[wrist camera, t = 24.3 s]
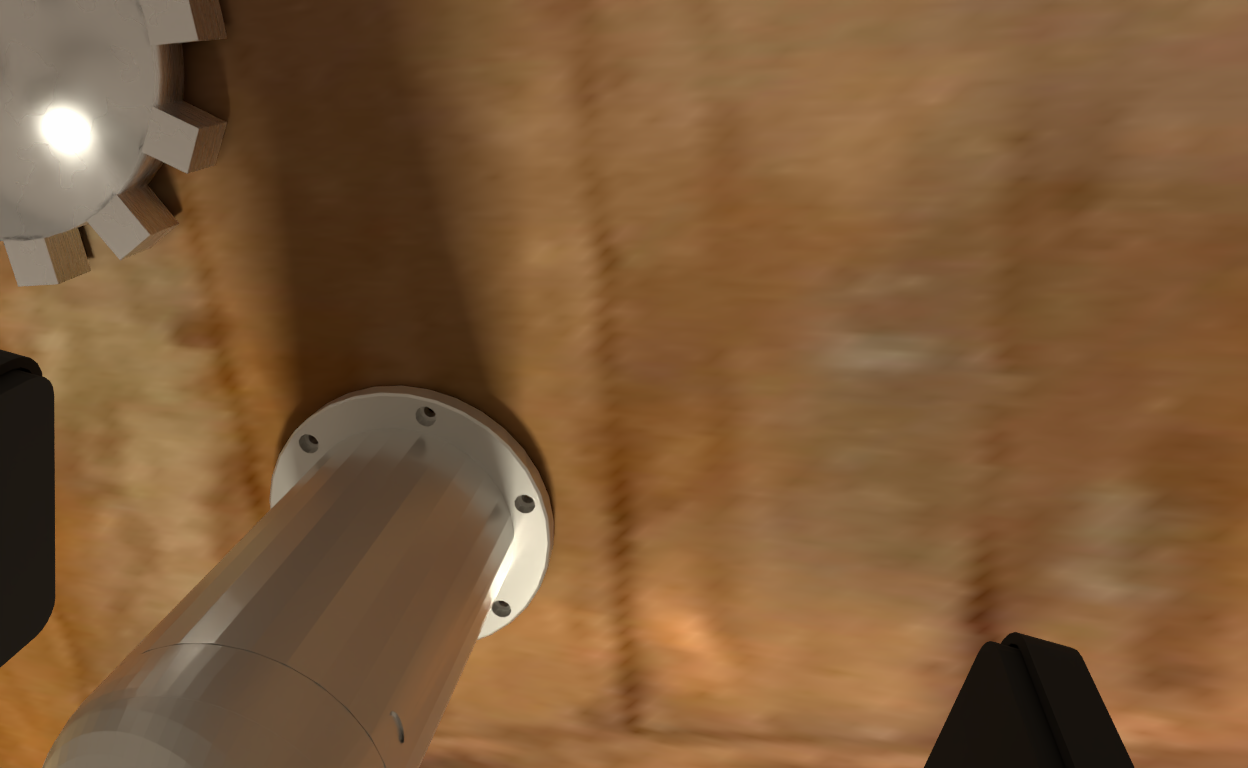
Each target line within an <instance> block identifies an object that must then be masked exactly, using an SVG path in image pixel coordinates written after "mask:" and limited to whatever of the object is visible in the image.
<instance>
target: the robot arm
mask: <svg viewBox="0 0 1248 768" xmlns="http://www.w3.org/2000/svg"><path fill="white" fill-rule="evenodd" d="M428 407H429V408H430V409H432V410H433V411H434V413H432V412H430V411H429V410H428ZM525 495H528V496H529V497H531V498H528V497H526V496H525ZM270 508H271V510H270V511H269V512H268V513H267V514H266V515H265V516H264V517H263V518H262V519H261V520H260V521H259V522H258V523H257V524H256V525H255V526H254V527H253V528H252V529H251V530H250V531H249V532H248V533H247V534H246V535H245V536H244V537H243V538H242V539H241V540H240V541H239V542H238V543H237V544H236V545H235V546H234V547H233V548H232V549H231V551H230V552H229V553H228V554H227V555H226V556H225V557H224V558H223V559H222V560H221V561H220V562H219V563H218V564H217V565H216V566H215V567H214V568H213V569H212V570H211V571H210V572H209V573H208V574H207V575H206V576H205V577H204V578H203V579H202V580H201V581H200V582H199V583H198V584H197V585H196V586H195V587H194V588H193V589H192V590H191V591H190V592H189V593H188V594H187V596H186V597H185V598H184V599H183V600H182V601H181V602H180V603H179V604H178V605H177V606H176V607H175V608H174V609H173V610H172V611H171V612H170V613H169V614H168V615H167V616H166V617H165V618H164V619H163V620H162V621H161V622H160V623H159V624H158V625H157V626H156V627H155V628H154V629H153V630H152V631H151V632H150V633H149V634H148V635H147V636H146V637H145V638H144V639H143V641H142V642H141V643H140V644H139V645H138V646H137V647H136V648H135V649H134V650H133V651H132V652H131V653H130V654H129V655H128V656H127V657H126V658H125V659H124V660H123V661H122V662H121V663H120V665H119V666H118V667H117V668H116V669H115V670H114V671H113V672H112V673H111V674H110V675H109V676H108V677H107V678H106V679H105V680H104V681H103V682H102V683H101V684H100V685H99V686H98V687H97V688H96V689H95V690H94V691H93V692H92V693H91V694H90V695H89V697H88V698H87V699H86V700H85V701H84V702H83V703H82V704H81V705H80V706H79V708H78V709H77V710H76V711H75V713H74V714H73V715H72V716H71V718H70V719H69V720H68V722H67V723H66V725H65V726H64V728H63V730H62V731H61V733H60V734H59V736H58V738H57V739H56V741H55V742H54V744H53V746H52V748H51V749H50V751H49V753H48V755H47V758H46V760H45V763H44V765H43V767H42V768H419V766H420V764H421V762H422V760H423V757H424V755H425V753H426V751H427V749H428V746H429V744H430V742H431V740H432V738H433V735H434V733H435V731H436V729H437V727H438V724H439V722H440V720H441V718H442V716H443V713H444V711H445V709H446V707H447V705H448V702H449V700H450V698H451V696H452V694H453V691H454V689H455V687H456V685H457V683H458V680H459V678H460V676H461V674H462V672H463V669H464V667H465V665H466V663H467V660H468V658H469V656H470V654H471V652H472V649H473V647H474V645H475V643H476V641H477V640H479V639H481V638H484V637H487V636H490V635H492V634H493V633H495V632H497V631H498V630H500V629H502V628H503V627H505V626H506V625H508V624H510V623H511V622H512V621H513V620H514V619H515V618H516V617H517V616H518V615H519V614H520V613H521V612H522V611H524V610H525V609H526V608H527V607H528V605H529V603H530V602H531V600H532V599H533V597H534V596H535V594H536V593H537V591H538V590H539V588H540V586H541V583H542V581H543V578H544V576H545V574H546V571H547V569H548V565H549V561H550V557H551V553H552V549H553V541H554V519H553V514H552V509H551V504H550V499H549V495H548V493H547V491H546V488H545V486H544V483H543V481H542V478H541V476H540V474H539V472H538V470H537V468H536V467H535V465H534V464H533V462H532V461H531V459H530V458H529V456H528V455H527V453H526V452H525V450H524V449H523V448H522V447H521V446H520V445H519V443H518V442H517V441H516V440H515V439H514V438H513V437H512V436H511V435H510V434H509V433H508V432H507V431H506V430H505V429H504V428H503V427H502V426H500V425H499V424H498V423H496V422H495V421H494V420H492V419H491V418H490V417H488V416H487V415H486V414H485V413H483V412H482V411H480V410H478V409H476V408H474V407H472V406H470V405H468V404H467V403H465V402H463V401H461V400H459V399H457V398H454V397H451V396H448V395H445V394H442V393H439V392H436V391H433V390H429V389H423V388H416V387H409V386H401V385H400V386H378V387H371V388H367V389H362V390H358V391H354V392H350V393H347V394H345V395H343V396H341V397H339V398H337V399H335V400H333V401H331V402H329V403H327V404H325V405H324V406H323V407H321V408H320V409H319V410H318V411H316V412H315V413H314V414H313V415H311V416H310V417H309V418H308V419H307V420H305V421H304V422H303V423H302V424H301V425H300V426H299V427H298V428H297V429H296V430H295V431H294V432H293V434H292V435H291V436H290V438H289V440H288V441H287V443H286V444H285V446H284V448H283V449H282V451H281V453H280V454H279V457H278V460H277V463H276V466H275V469H274V472H273V475H272V481H271V491H270ZM54 603H55V461H54V391H53V386H52V384H51V382H50V381H49V380H48V379H46V378H45V377H42V371H41V369H40V367H39V365H38V363H36V362H35V361H34V360H32V359H31V358H29V357H25V356H21V355H18V354H14V353H11V352H7V351H3V350H0V667H1V666H3V665H4V664H5V663H6V662H7V661H8V660H9V659H11V658H12V657H13V656H14V655H15V654H16V653H17V652H19V651H20V650H21V649H22V648H23V647H24V646H26V645H27V644H28V643H29V642H30V641H31V640H32V639H34V638H35V637H36V636H37V635H38V634H39V633H40V631H41V630H42V629H43V628H44V626H45V625H46V623H47V622H48V619H49V617H50V615H51V613H52V610H53V607H54ZM924 768H1134V766H1133V763H1132V761H1131V759H1130V757H1129V755H1128V753H1127V751H1126V749H1125V747H1124V744H1123V742H1122V740H1121V738H1120V736H1119V734H1118V732H1117V730H1116V728H1115V725H1114V723H1113V721H1112V719H1111V717H1110V715H1109V713H1108V711H1107V709H1106V706H1105V704H1104V702H1103V700H1102V698H1101V696H1100V694H1099V692H1098V690H1097V688H1096V685H1095V683H1094V681H1093V679H1092V677H1091V675H1090V673H1089V671H1088V669H1087V666H1086V664H1085V662H1084V660H1083V658H1082V656H1081V655H1080V654H1079V652H1078V651H1077V650H1075V649H1073V648H1071V647H1067V646H1064V645H1060V644H1056V643H1053V642H1049V641H1046V640H1042V639H1038V638H1035V637H1031V636H1028V635H1024V634H1020V633H1017V632H1014V633H1011V634H1009V635H1008V636H1007V637H1006V638H1005V639H1003V641H1002V643H1001V644H999V643H996V642H992V641H990V642H986V643H985V644H984V645H983V646H982V648H981V649H980V651H979V653H978V655H977V657H976V659H975V661H974V663H973V665H972V667H971V669H970V671H969V674H968V676H967V678H966V680H965V682H964V684H963V686H962V688H961V690H960V693H959V695H958V697H957V699H956V701H955V703H954V705H953V707H952V709H951V712H950V714H949V716H948V718H947V720H946V722H945V724H944V726H943V728H942V731H941V733H940V735H939V737H938V739H937V741H936V743H935V745H934V747H933V750H932V752H931V754H930V756H929V758H928V760H927V762H926V764H925V766H924Z"/></svg>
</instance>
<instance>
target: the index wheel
mask: <svg viewBox="0 0 1248 768" xmlns="http://www.w3.org/2000/svg"><path fill="white" fill-rule="evenodd" d="M226 38H227V33H226V29H225V25H224V20H223V16H222V12H221V7H220V3H219V0H0V241H3V242H4V245H5V248H6V251H7V254H8V257H9V260H10V263H11V266H12V269H13V272H14V275H15V278H16V281H17V284H18V286H34V285H51V284H60V283H62V282H65V281H67V280H70V279H72V278H75V277H77V276H80V275H82V274H84V273H87V272H89V271H91V269H90V266H89V263H88V260H87V256H86V253H85V250H84V246H83V243H82V240H81V236H80V233H79V230H78V227H81V226H84V225H87V224H90V225H91V227H92V228H93V229H94V230H95V231H96V232H97V234H98V235H99V236H100V237H101V238H102V239H103V241H104V242H105V243H106V244H107V245H108V247H109V248H110V249H111V250H112V251H113V252H114V254H115V255H116V256H117V257H118V258H119V259H120V260H122V259H124V258H127V257H129V256H132V255H134V254H137V253H139V252H141V251H144V250H146V249H149V248H151V247H152V246H153V245H154V244H156V243H157V242H158V241H159V240H160V239H162V238H163V237H164V236H165V235H166V234H168V233H169V232H170V231H171V230H172V229H174V228H175V227H176V226H177V225H178V224H179V223H178V221H177V220H176V219H175V218H174V216H173V215H172V214H171V213H170V212H169V210H168V209H167V208H166V207H165V206H164V204H163V203H162V202H161V201H160V199H159V198H158V197H157V196H156V195H155V193H154V192H153V191H152V190H151V189H150V187H149V186H148V184H149V183H150V182H151V180H152V179H153V177H154V176H155V175H156V173H157V172H158V170H159V169H160V167H161V166H162V164H163V162H164V163H166V164H168V165H170V166H172V167H174V168H177V169H179V170H181V171H183V172H185V173H187V174H188V173H191V172H194V171H198V170H201V169H204V168H208V167H211V166H214V165H216V162H217V158H218V155H219V151H220V147H221V144H222V140H223V136H224V132H225V129H226V125H227V122H226V121H224V120H222V119H219V118H217V117H215V116H213V115H211V114H209V113H207V112H205V111H203V110H201V109H199V108H197V107H195V106H193V105H191V104H188V103H186V102H184V101H183V90H184V61H183V47H182V43H187V42H197V41H207V40H216V39H226Z"/></svg>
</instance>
